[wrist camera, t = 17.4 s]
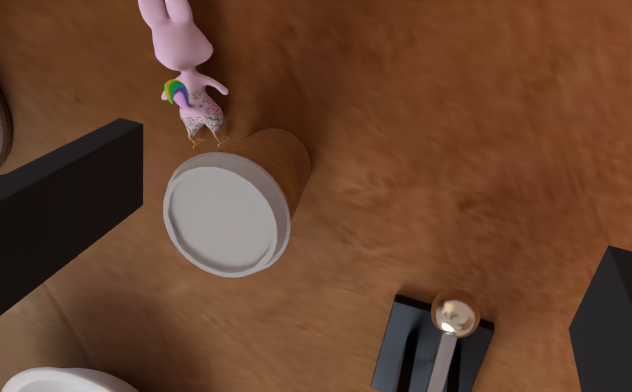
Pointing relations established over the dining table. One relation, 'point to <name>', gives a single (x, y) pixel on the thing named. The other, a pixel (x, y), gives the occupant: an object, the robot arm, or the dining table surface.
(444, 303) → the ball-tipped metal rod
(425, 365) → the bracket
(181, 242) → the disposable coffee cup
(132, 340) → the dining table surface
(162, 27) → the rabbit figure
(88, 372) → the soup bowl
